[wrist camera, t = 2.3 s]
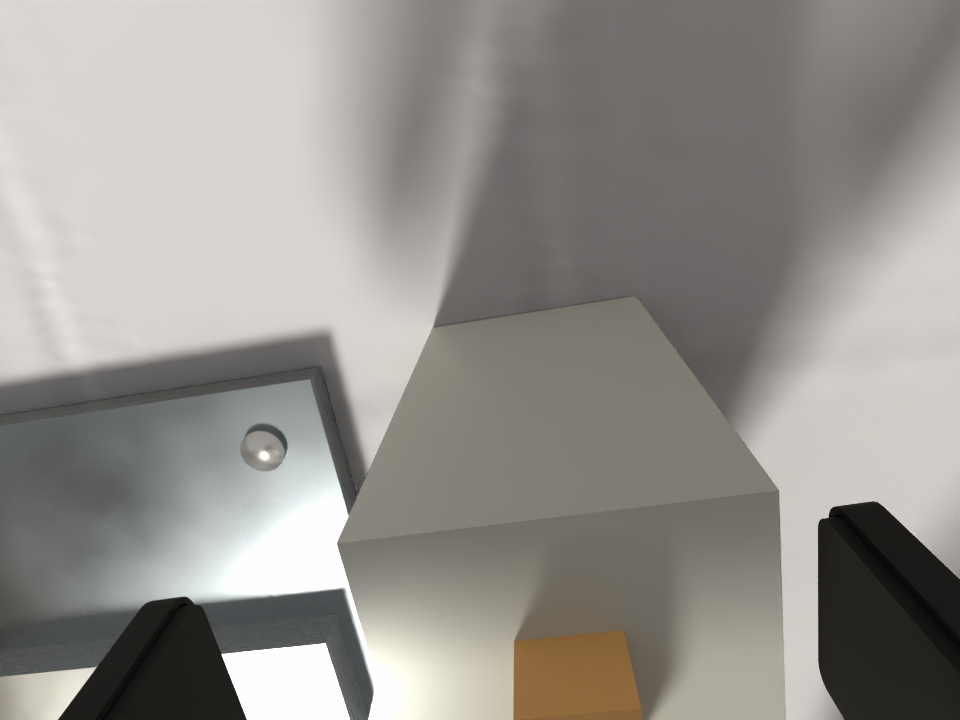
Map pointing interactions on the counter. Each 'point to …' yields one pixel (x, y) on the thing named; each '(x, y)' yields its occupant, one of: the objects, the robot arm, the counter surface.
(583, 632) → the block
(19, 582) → the mounting plate
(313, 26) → the counter surface
